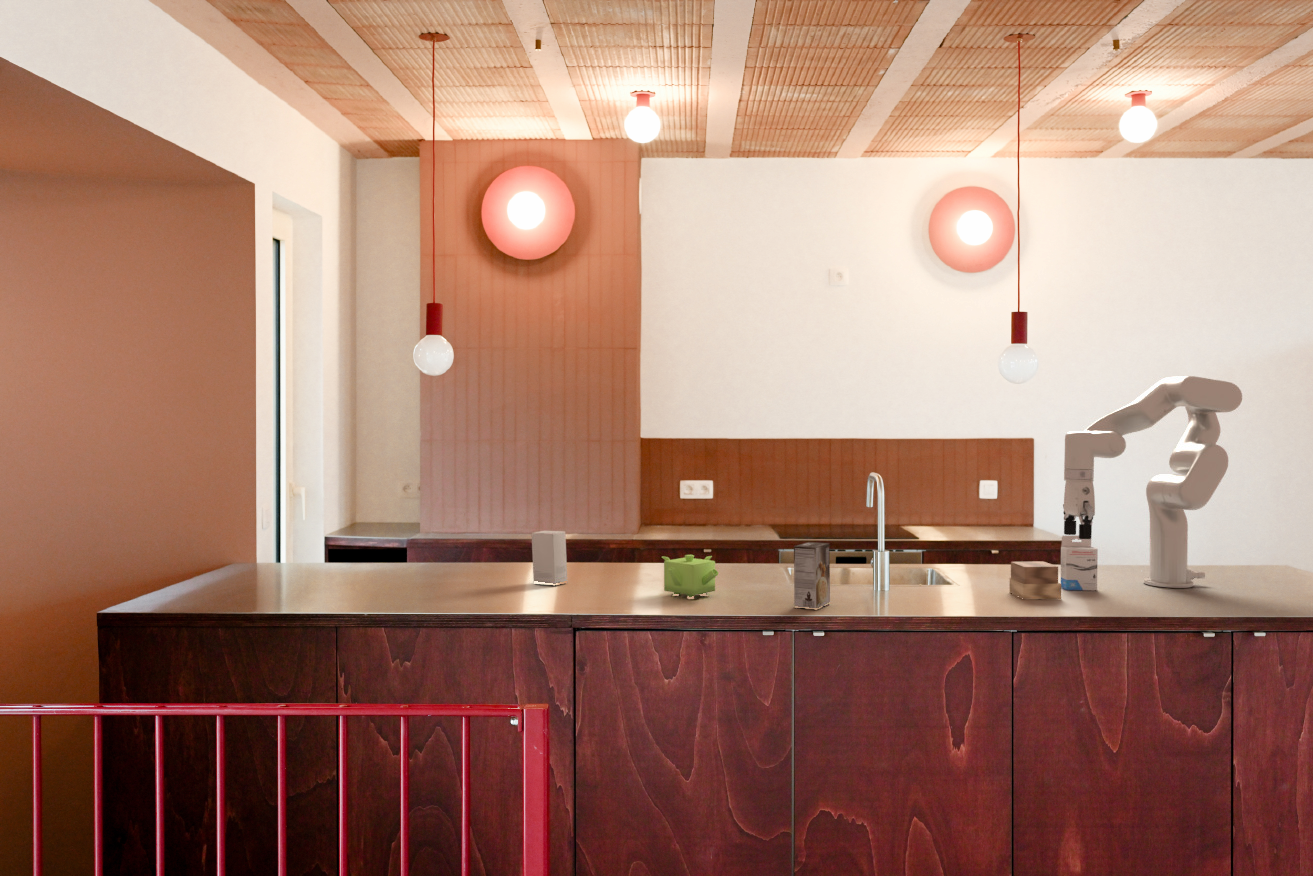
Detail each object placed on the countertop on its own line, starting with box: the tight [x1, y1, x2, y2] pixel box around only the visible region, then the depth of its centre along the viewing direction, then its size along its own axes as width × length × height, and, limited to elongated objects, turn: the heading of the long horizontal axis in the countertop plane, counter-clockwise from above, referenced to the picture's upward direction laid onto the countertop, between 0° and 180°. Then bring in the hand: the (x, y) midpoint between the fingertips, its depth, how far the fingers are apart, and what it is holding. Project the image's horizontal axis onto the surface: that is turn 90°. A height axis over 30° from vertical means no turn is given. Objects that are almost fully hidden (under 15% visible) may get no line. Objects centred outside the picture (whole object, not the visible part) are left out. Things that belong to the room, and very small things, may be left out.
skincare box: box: [531, 530, 568, 584], centre depth 277 cm, size 8×7×16 cm
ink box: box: [1060, 535, 1099, 591], centre depth 264 cm, size 9×5×15 cm, turn 84°
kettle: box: [661, 554, 719, 597], centre depth 258 cm, size 15×14×11 cm
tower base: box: [1009, 577, 1062, 600], centre depth 254 cm, size 10×10×4 cm
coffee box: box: [793, 541, 831, 608], centre depth 242 cm, size 9×6×16 cm
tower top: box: [1010, 560, 1059, 584], centre depth 254 cm, size 9×9×4 cm
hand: (1077, 536), depth 263 cm, fingers open, 9 cm apart
